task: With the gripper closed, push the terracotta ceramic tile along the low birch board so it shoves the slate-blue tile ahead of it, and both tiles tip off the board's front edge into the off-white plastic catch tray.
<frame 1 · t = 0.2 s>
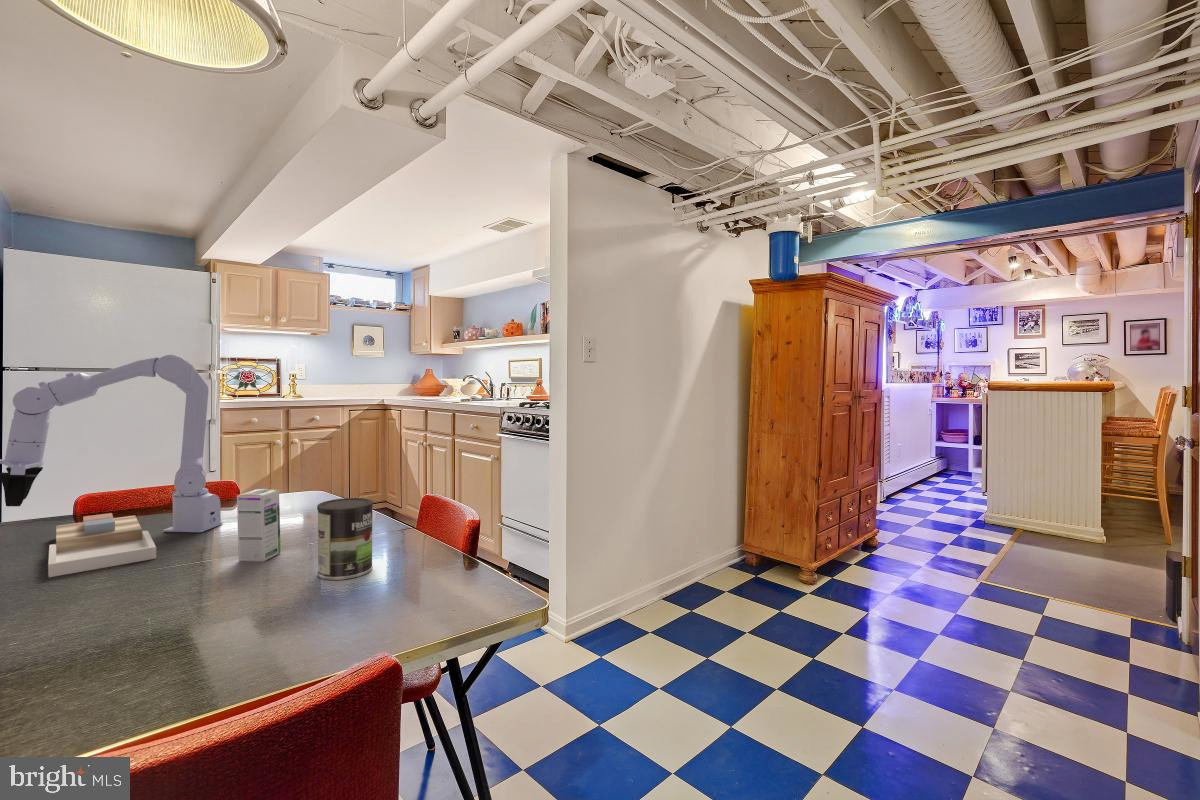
hand: (16, 502, 117), 10 cm above the table, tool pointing down, fingers open, 7 cm apart
syrup box: (259, 558, 116), on the table
birch board: (99, 539, 125), on the table
catch tray: (102, 556, 114), on the table
coffee can: (345, 572, 109), on the table
terracotta tile: (98, 525, 126), point 3 cm above the table, touching birch board
slate tile: (99, 530, 122), point 3 cm above the table, touching birch board
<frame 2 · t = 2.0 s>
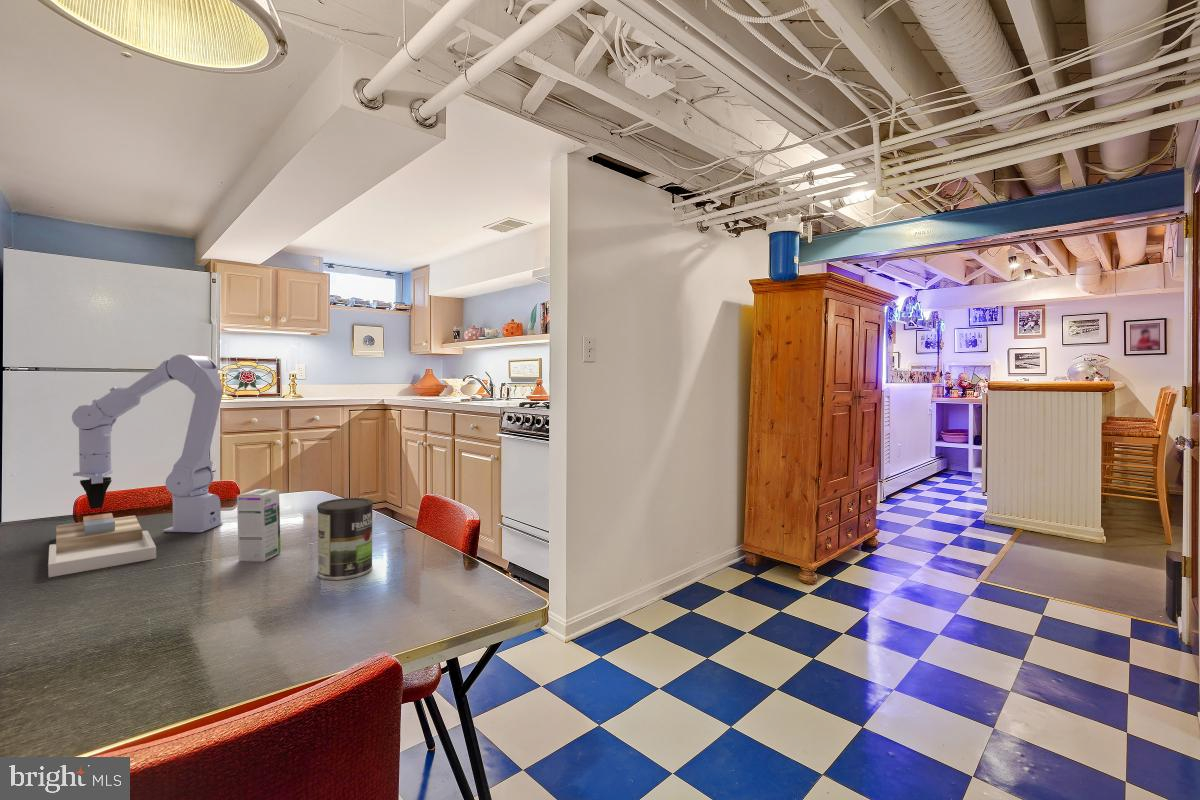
hand: (96, 507, 132), 6 cm above the table, tool pointing down, fingers closed
nothing on the table moved.
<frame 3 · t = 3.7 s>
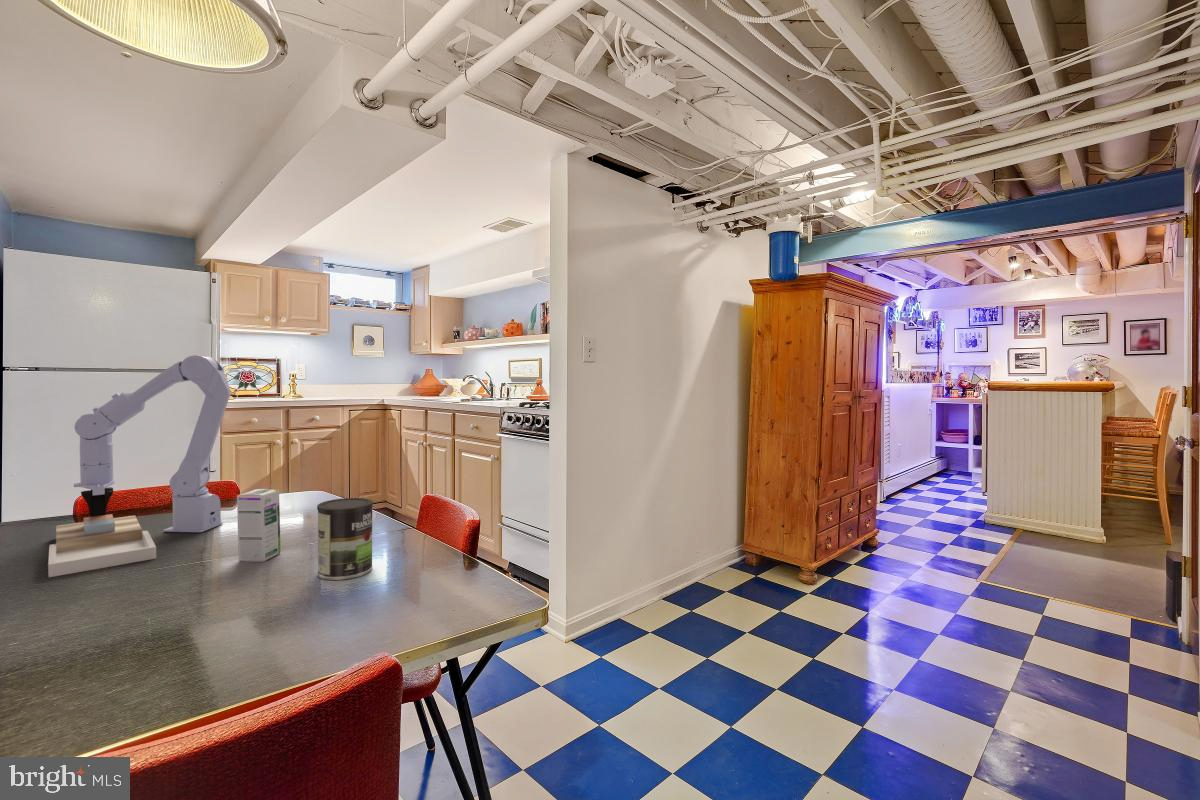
hand: (98, 519, 128), 4 cm above the table, tool pointing down, fingers closed
terracotta tile: (98, 526, 125), point 3 cm above the table, touching gripper, slate tile
slate tile: (99, 531, 122), point 3 cm above the table, touching terracotta tile
everything else where it was.
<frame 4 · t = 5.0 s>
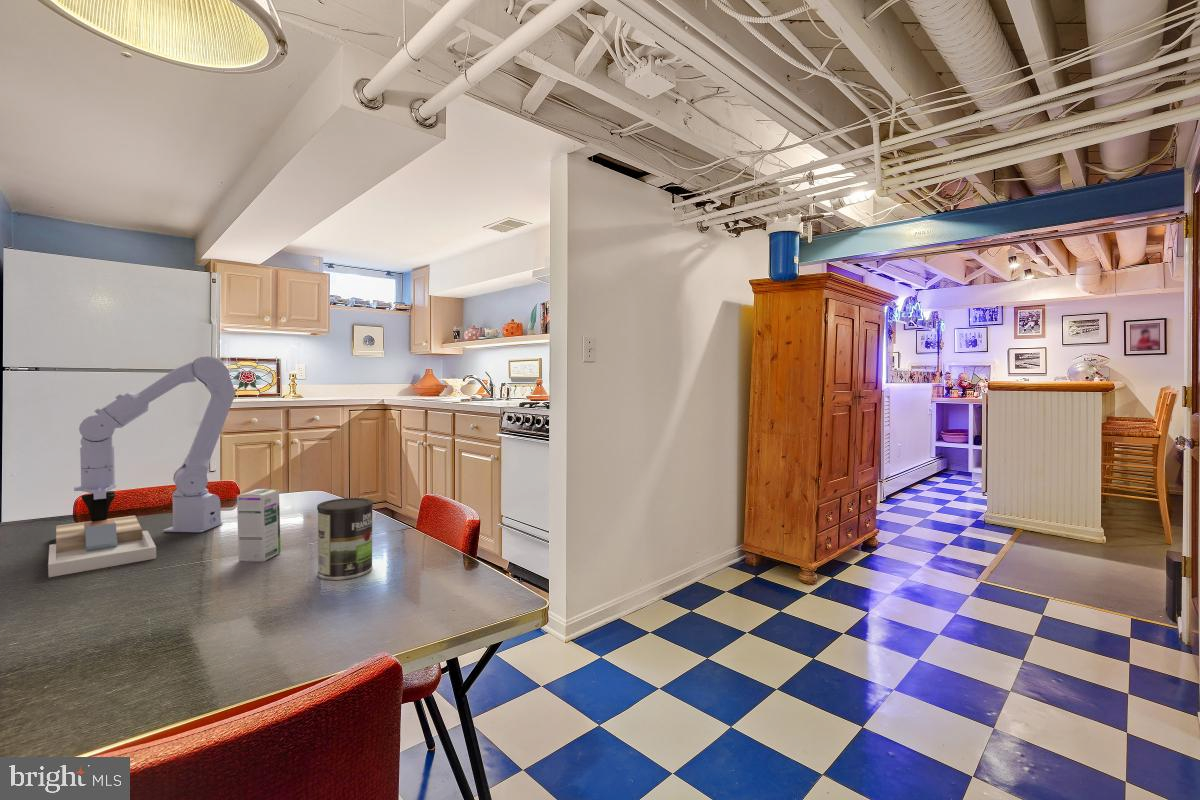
hand: (99, 524, 124), 4 cm above the table, tool pointing down, fingers closed
terracotta tile: (99, 531, 121), point 3 cm above the table, touching birch board, gripper
slate tile: (101, 539, 118), point 2 cm above the table, tilted 43°, touching birch board, catch tray
everything else where it was.
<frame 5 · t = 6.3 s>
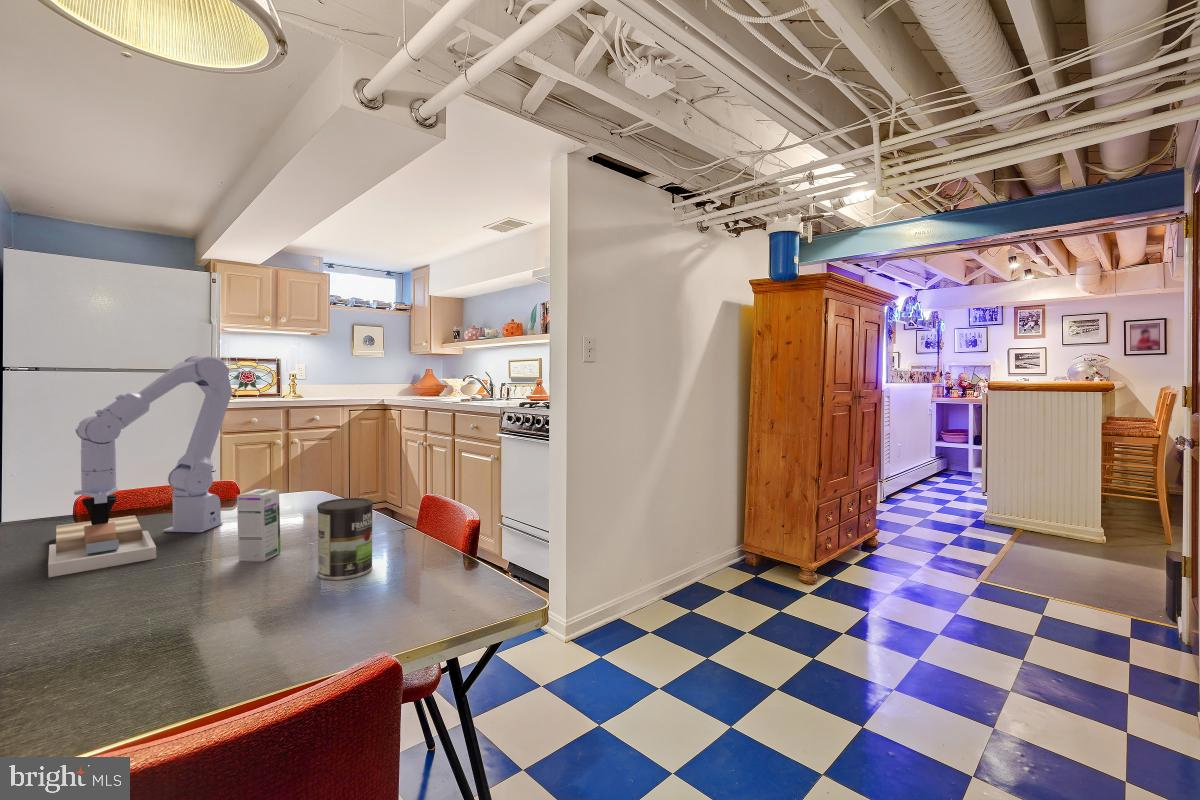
hand: (99, 529, 120), 4 cm above the table, tool pointing down, fingers closed
terracotta tile: (100, 537, 118), point 3 cm above the table, tilted 15°, touching birch board, gripper
slate tile: (102, 541, 114), point 3 cm above the table, tilted 166°, touching catch tray
everything else where it was.
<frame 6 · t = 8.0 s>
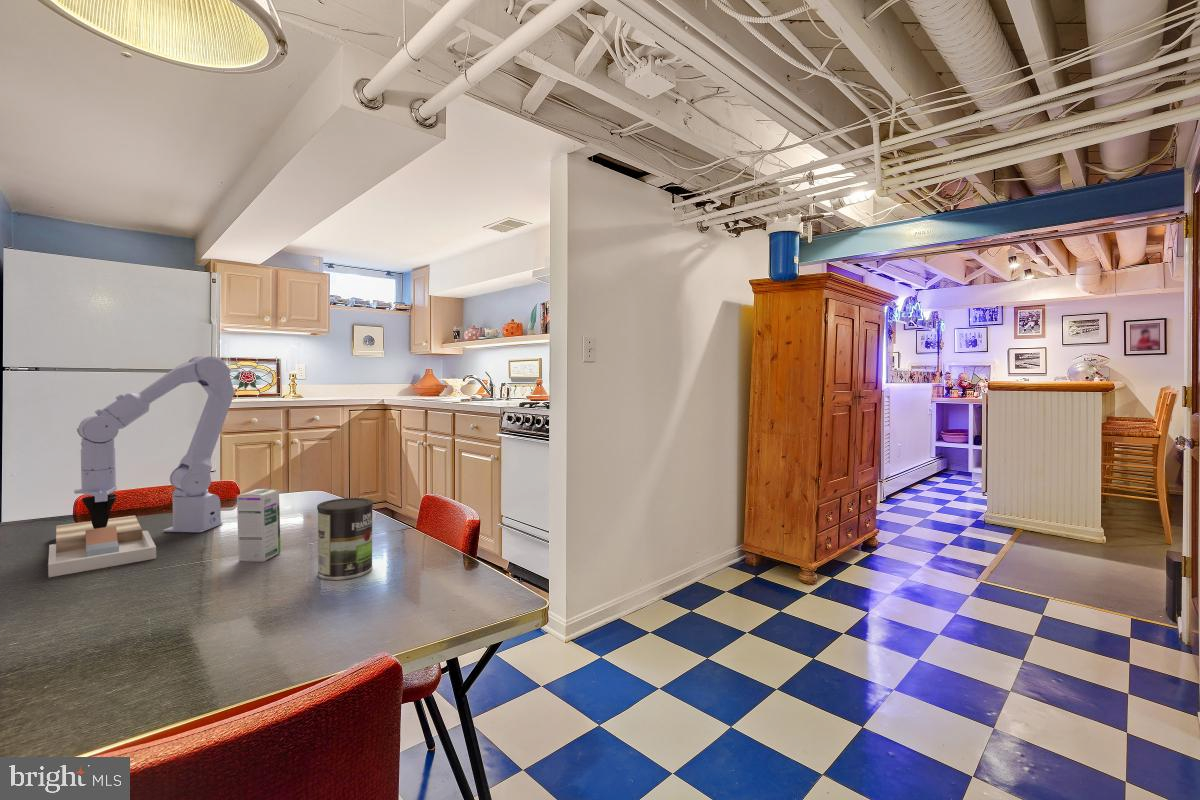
hand: (99, 527, 122), 4 cm above the table, tool pointing down, fingers closed
terracotta tile: (101, 542, 118), point 2 cm above the table, tilted 30°, touching birch board, catch tray
slate tile: (102, 545, 113), point 2 cm above the table, tilted 180°, touching catch tray
everything else where it was.
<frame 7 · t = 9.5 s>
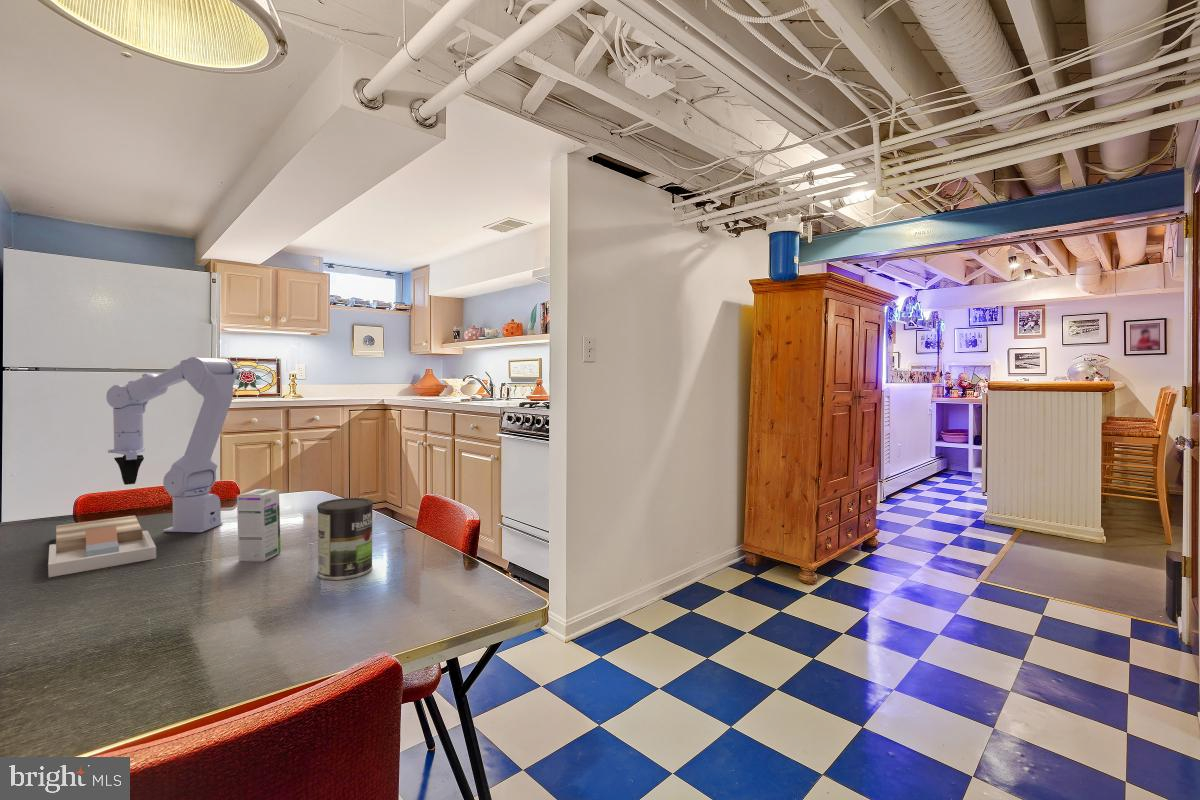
hand: (129, 483, 138), 10 cm above the table, tool pointing down, fingers closed
nothing on the table moved.
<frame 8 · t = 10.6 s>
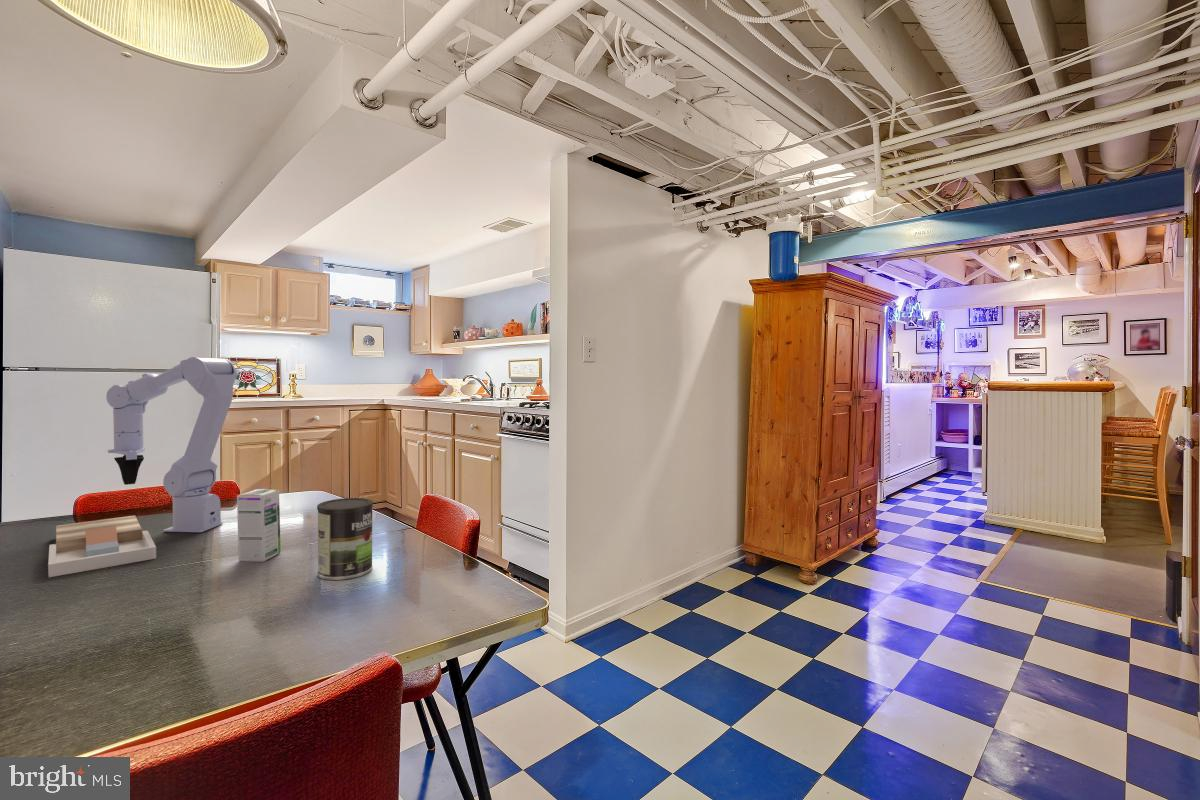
hand: (129, 483, 138), 10 cm above the table, tool pointing down, fingers closed
nothing on the table moved.
at the end: slate tile 0.4 cm from the catch tray (horizontally); terracotta tile 5.4 cm from the catch tray (horizontally); terracotta tile point 1.8 cm above the table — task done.
